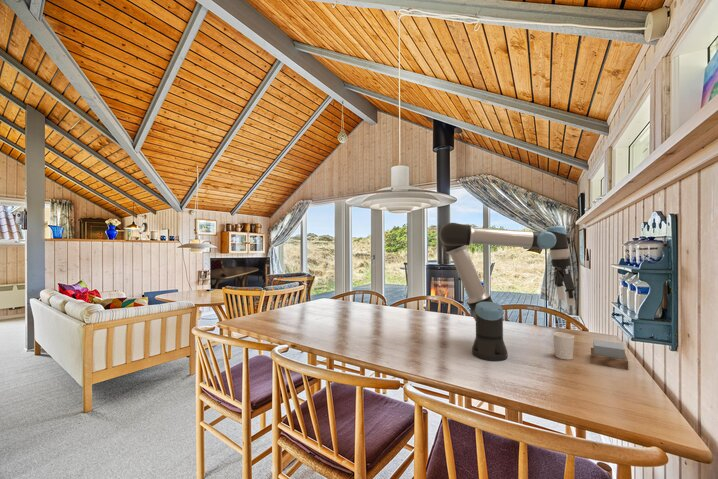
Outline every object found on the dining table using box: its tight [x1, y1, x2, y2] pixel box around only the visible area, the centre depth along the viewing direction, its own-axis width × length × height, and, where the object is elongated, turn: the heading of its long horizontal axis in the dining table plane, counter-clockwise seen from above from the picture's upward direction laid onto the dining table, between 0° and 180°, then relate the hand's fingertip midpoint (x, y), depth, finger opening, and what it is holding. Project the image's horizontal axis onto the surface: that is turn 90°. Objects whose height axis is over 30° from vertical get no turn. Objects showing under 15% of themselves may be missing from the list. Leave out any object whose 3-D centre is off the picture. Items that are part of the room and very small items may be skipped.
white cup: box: [552, 331, 575, 360], centre depth 141 cm, size 8×8×10 cm
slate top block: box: [592, 339, 626, 360], centre depth 135 cm, size 10×10×4 cm
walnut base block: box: [590, 347, 629, 371], centre depth 135 cm, size 12×12×4 cm
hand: (566, 302), depth 149 cm, fingers open, 13 cm apart
